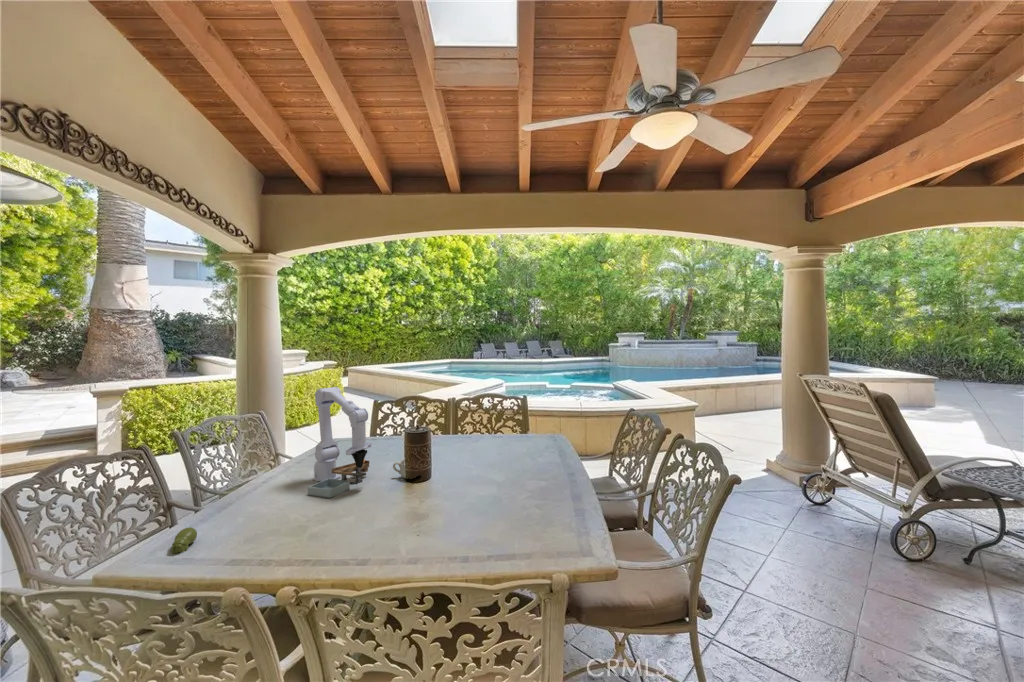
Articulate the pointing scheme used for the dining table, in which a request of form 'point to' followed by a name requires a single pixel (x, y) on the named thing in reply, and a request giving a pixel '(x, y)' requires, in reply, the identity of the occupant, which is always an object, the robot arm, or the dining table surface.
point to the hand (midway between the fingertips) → (359, 467)
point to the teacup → (402, 468)
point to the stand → (354, 481)
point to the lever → (351, 469)
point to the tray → (328, 488)
